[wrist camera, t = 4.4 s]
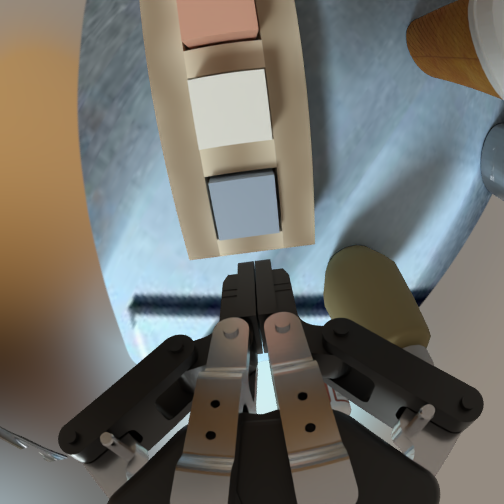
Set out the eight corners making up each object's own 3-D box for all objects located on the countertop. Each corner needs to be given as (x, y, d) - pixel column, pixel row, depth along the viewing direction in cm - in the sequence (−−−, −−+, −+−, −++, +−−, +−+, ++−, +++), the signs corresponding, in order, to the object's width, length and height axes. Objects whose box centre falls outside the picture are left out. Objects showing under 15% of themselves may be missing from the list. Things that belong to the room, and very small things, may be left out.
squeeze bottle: (361, 302, 31) (419, 438, 16) (302, 289, 30) (344, 453, 14) (397, 246, 27) (491, 381, 12) (336, 223, 26) (430, 391, 10)
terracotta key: (247, -11, 13) (249, -29, 10) (255, 40, 15) (258, 29, 12) (184, -1, 13) (174, -17, 10) (190, 49, 15) (181, 41, 12)
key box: (278, -19, 14) (286, -38, 10) (304, 222, 25) (314, 244, 22) (153, 0, 14) (138, -15, 11) (195, 236, 26) (189, 260, 22)
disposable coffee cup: (457, 16, 13) (544, 13, 3) (468, 98, 18) (558, 126, 8) (381, -5, 14) (469, -40, 4) (397, 89, 19) (498, 106, 9)
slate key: (268, 162, 21) (274, 174, 18) (274, 213, 23) (279, 232, 20) (212, 170, 21) (208, 183, 18) (221, 220, 23) (219, 240, 21)
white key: (259, 73, 16) (264, 69, 13) (266, 132, 19) (272, 139, 16) (195, 82, 16) (187, 80, 14) (205, 141, 19) (199, 150, 16)
